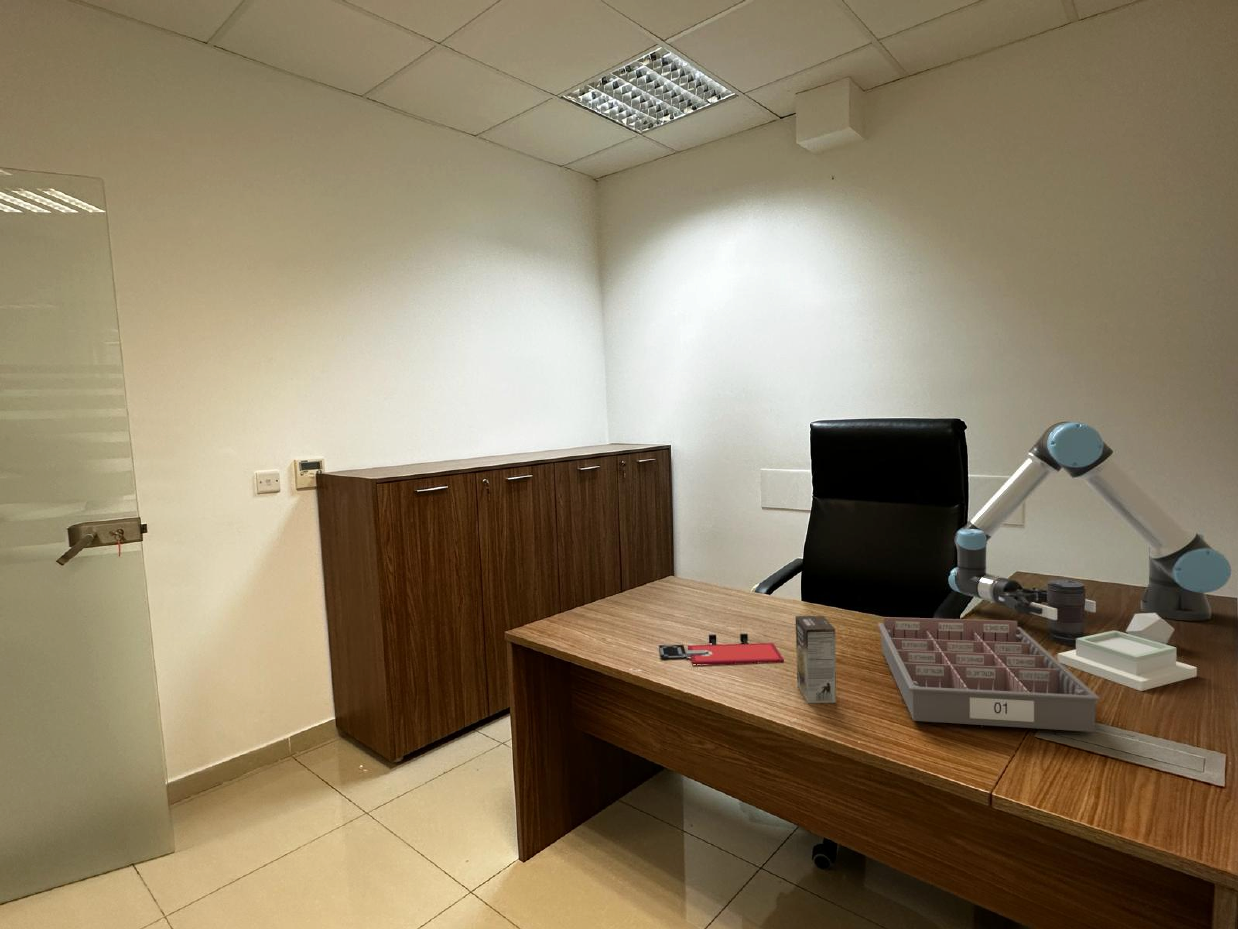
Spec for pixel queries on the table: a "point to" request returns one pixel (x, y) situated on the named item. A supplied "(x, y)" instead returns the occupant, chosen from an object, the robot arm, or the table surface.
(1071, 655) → the plinth
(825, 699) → the coffee box
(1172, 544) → the robot arm
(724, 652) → the red board with handle
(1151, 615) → the white polyhedron
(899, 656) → the organizer tray
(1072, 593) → the camera lens
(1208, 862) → the table surface
